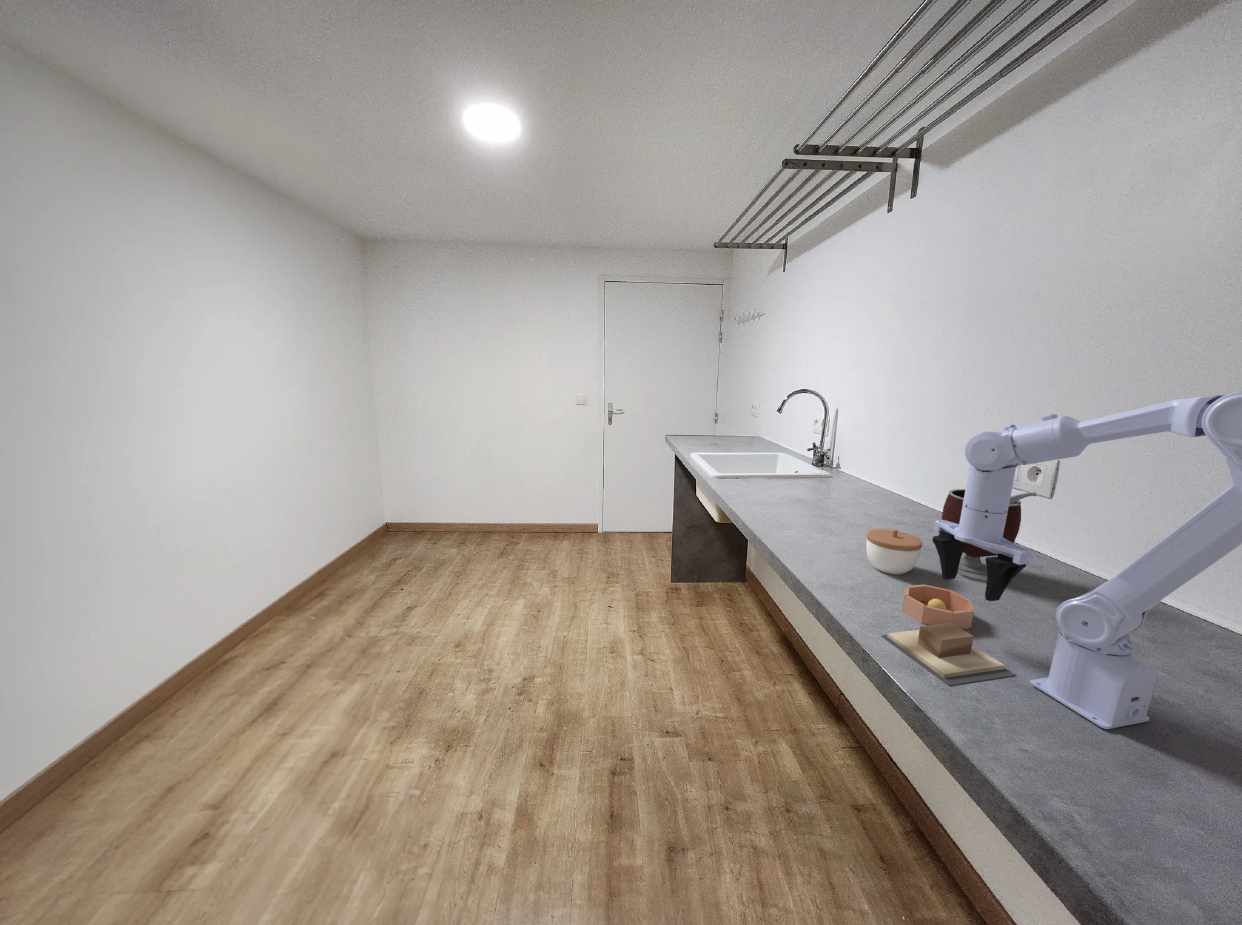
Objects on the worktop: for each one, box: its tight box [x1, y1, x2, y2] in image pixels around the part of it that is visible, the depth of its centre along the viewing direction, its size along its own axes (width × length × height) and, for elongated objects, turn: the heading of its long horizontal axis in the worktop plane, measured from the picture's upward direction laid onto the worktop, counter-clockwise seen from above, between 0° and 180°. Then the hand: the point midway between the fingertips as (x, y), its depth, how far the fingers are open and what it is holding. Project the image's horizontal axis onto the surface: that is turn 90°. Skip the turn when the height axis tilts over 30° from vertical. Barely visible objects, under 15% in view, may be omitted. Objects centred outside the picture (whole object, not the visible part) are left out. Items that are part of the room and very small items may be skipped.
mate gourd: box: [937, 488, 1037, 583], centre depth 109 cm, size 16×14×20 cm
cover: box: [886, 623, 1006, 678], centre depth 78 cm, size 11×11×4 cm
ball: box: [928, 599, 946, 610], centre depth 90 cm, size 3×3×3 cm
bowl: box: [901, 584, 975, 630], centre depth 90 cm, size 10×10×4 cm
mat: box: [881, 634, 1017, 687], centre depth 77 cm, size 13×12×1 cm
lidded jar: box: [865, 528, 923, 576], centre depth 109 cm, size 11×11×9 cm
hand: (969, 588), depth 80 cm, fingers open, 7 cm apart
